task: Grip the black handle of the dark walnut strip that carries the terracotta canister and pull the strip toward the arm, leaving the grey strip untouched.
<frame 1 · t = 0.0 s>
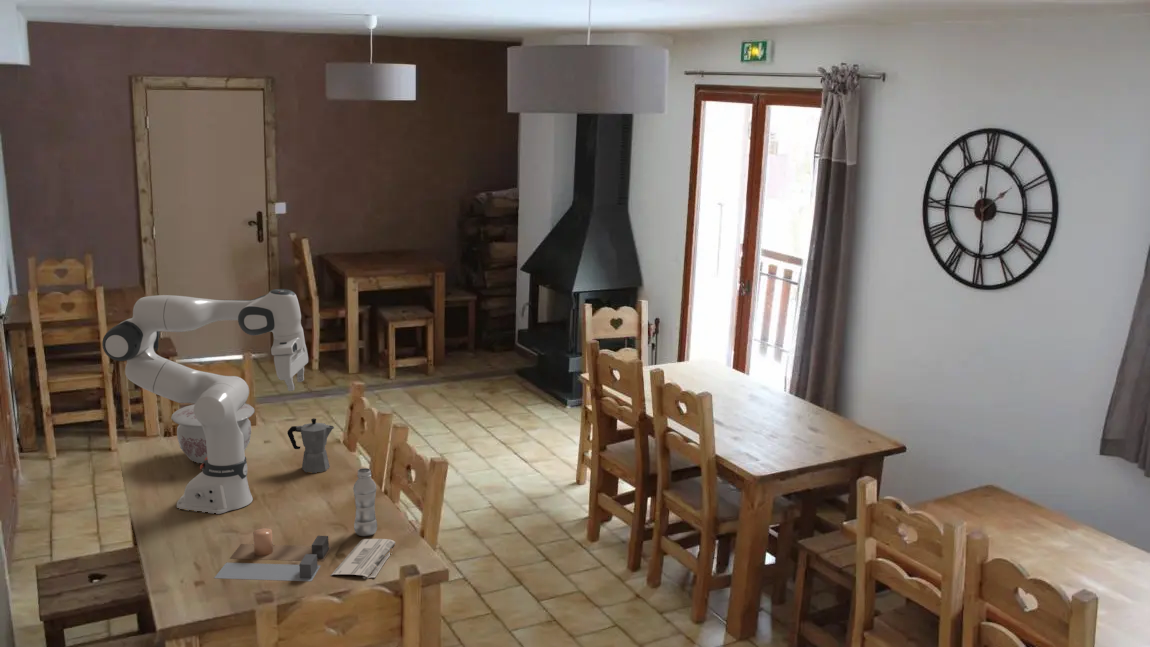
hand: (296, 385, 312), 39 cm above the table, tool pointing down, fingers open, 8 cm apart
walnut strip: (281, 547, 285), point 3 cm above the table, slide at 0.0 cm, touching canister
coffeepot: (312, 469, 350), on the table
chamber pot: (216, 458, 358), on the table
grey strip: (267, 566, 274), point 3 cm above the table, slide at 0.0 cm
canister: (263, 551, 285), point 1 cm above the table, touching walnut strip
plastic bottle: (366, 534, 300), on the table
newspaper: (367, 562, 285), on the table
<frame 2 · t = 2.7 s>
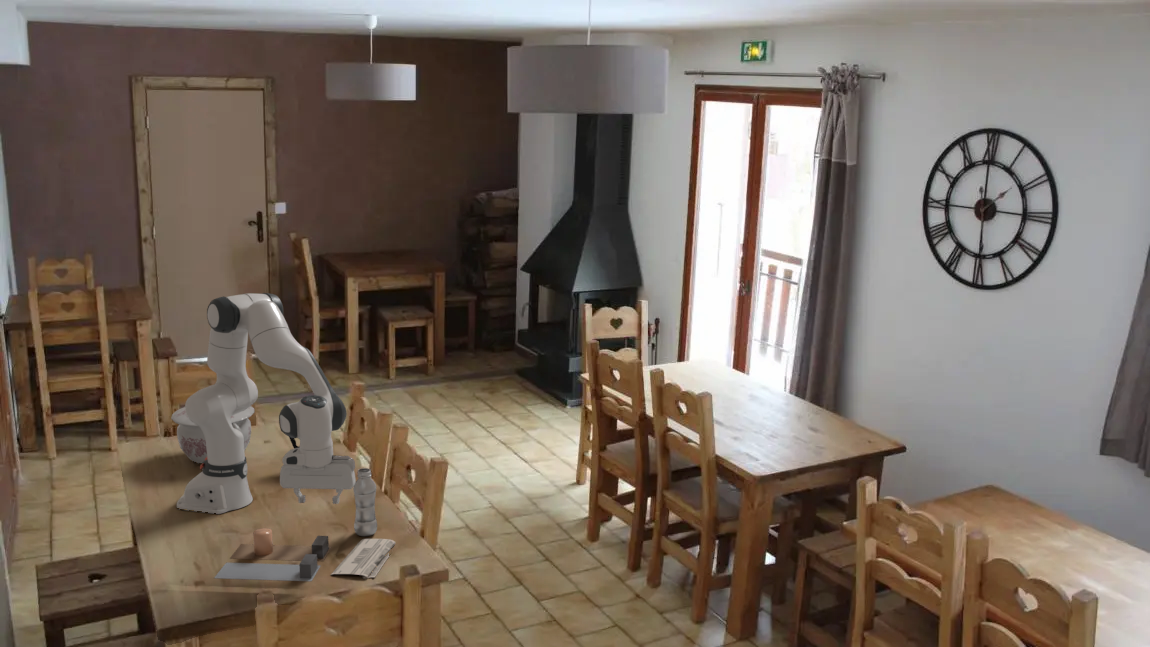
hand: (319, 502, 281), 17 cm above the table, tool pointing down, fingers open, 8 cm apart
nothing on the table moved.
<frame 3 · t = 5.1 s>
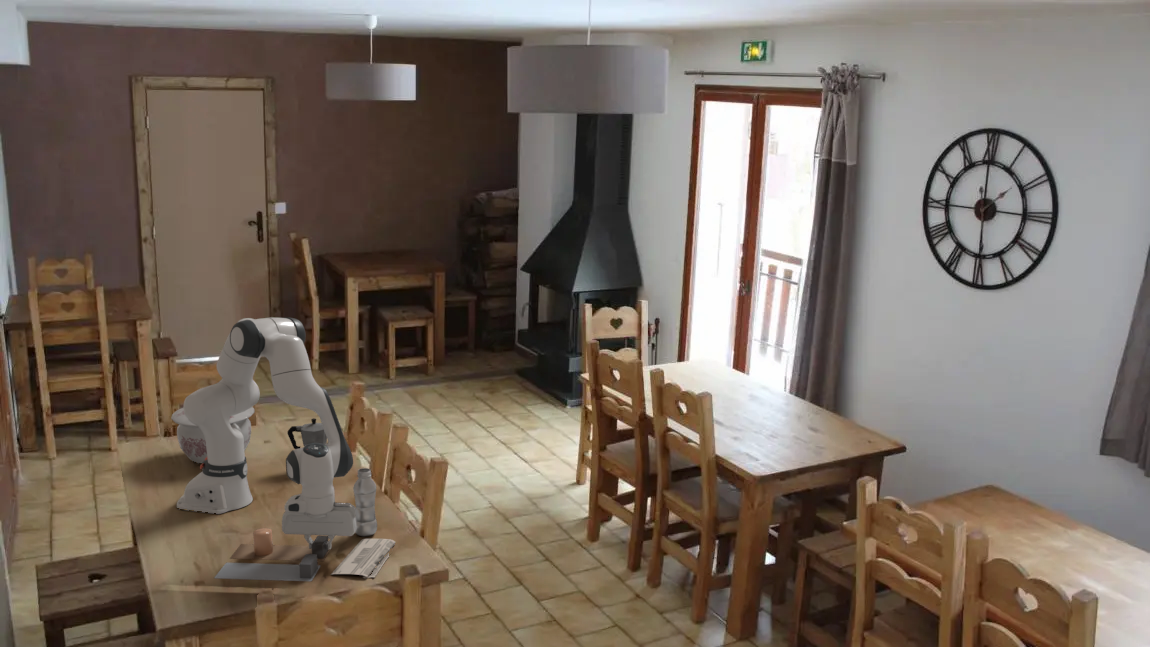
hand: (320, 548, 284), 3 cm above the table, tool pointing down, fingers closed on walnut strip, 3 cm apart
walnut strip: (281, 547, 285), point 3 cm above the table, slide at 0.0 cm, touching canister, gripper
everything else where it was.
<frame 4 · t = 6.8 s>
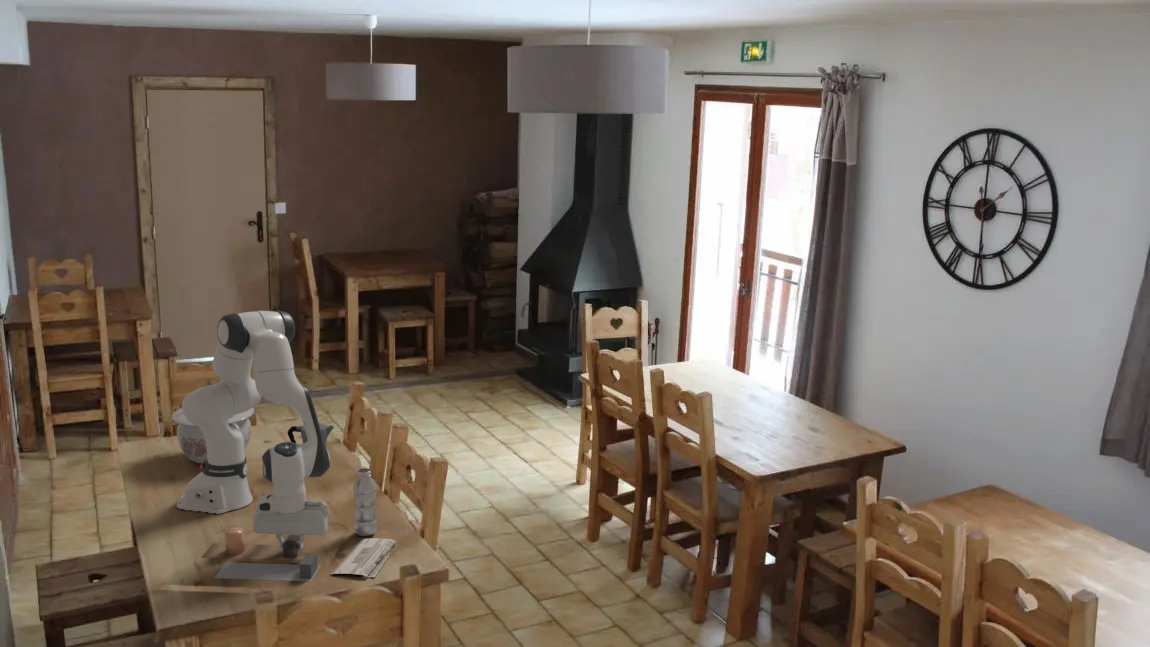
hand: (291, 547, 285), 3 cm above the table, tool pointing down, fingers closed on walnut strip, 3 cm apart
walnut strip: (252, 546, 285), point 3 cm above the table, slide at 8.0 cm, touching canister, gripper
canister: (235, 551, 285), point 1 cm above the table, touching walnut strip
everything else where it was.
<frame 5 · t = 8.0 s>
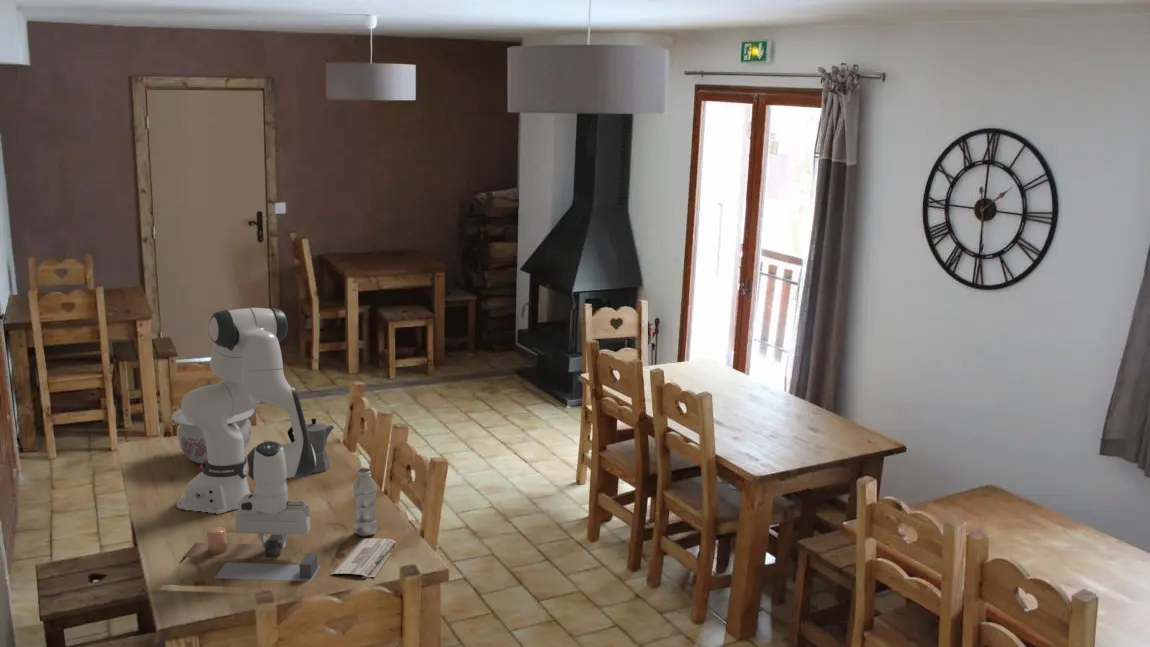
hand: (274, 547, 285), 3 cm above the table, tool pointing down, fingers closed on walnut strip, 3 cm apart
walnut strip: (235, 546, 285), point 3 cm above the table, slide at 13.0 cm, touching canister, gripper
canister: (217, 550, 286), point 1 cm above the table, touching walnut strip
everything else where it was.
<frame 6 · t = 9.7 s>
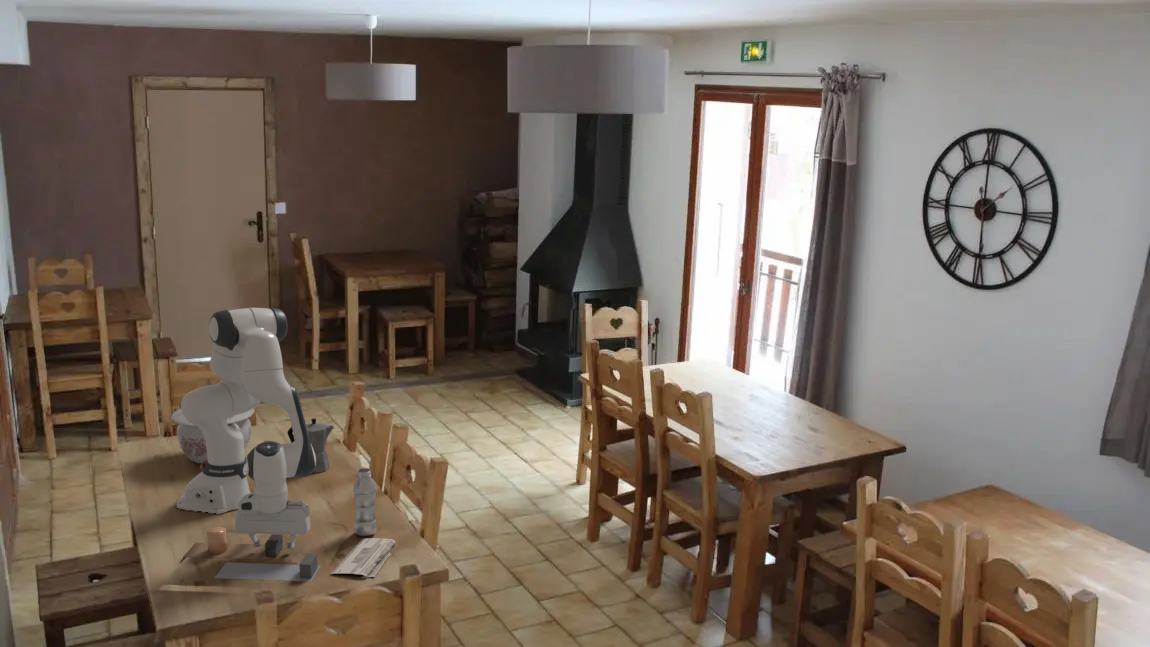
hand: (274, 546, 285), 3 cm above the table, tool pointing down, fingers open, 8 cm apart
walnut strip: (235, 546, 285), point 3 cm above the table, slide at 13.0 cm, touching canister
everything else where it was.
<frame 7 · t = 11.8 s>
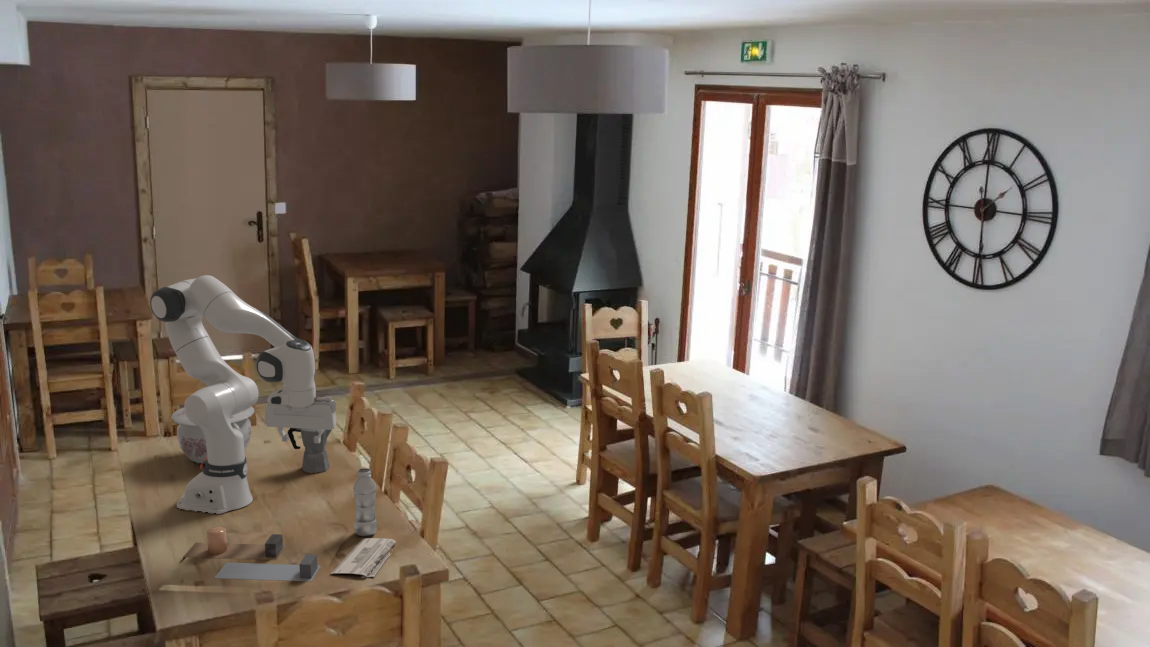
hand: (301, 441, 297), 27 cm above the table, tool pointing down, fingers open, 8 cm apart
nothing on the table moved.
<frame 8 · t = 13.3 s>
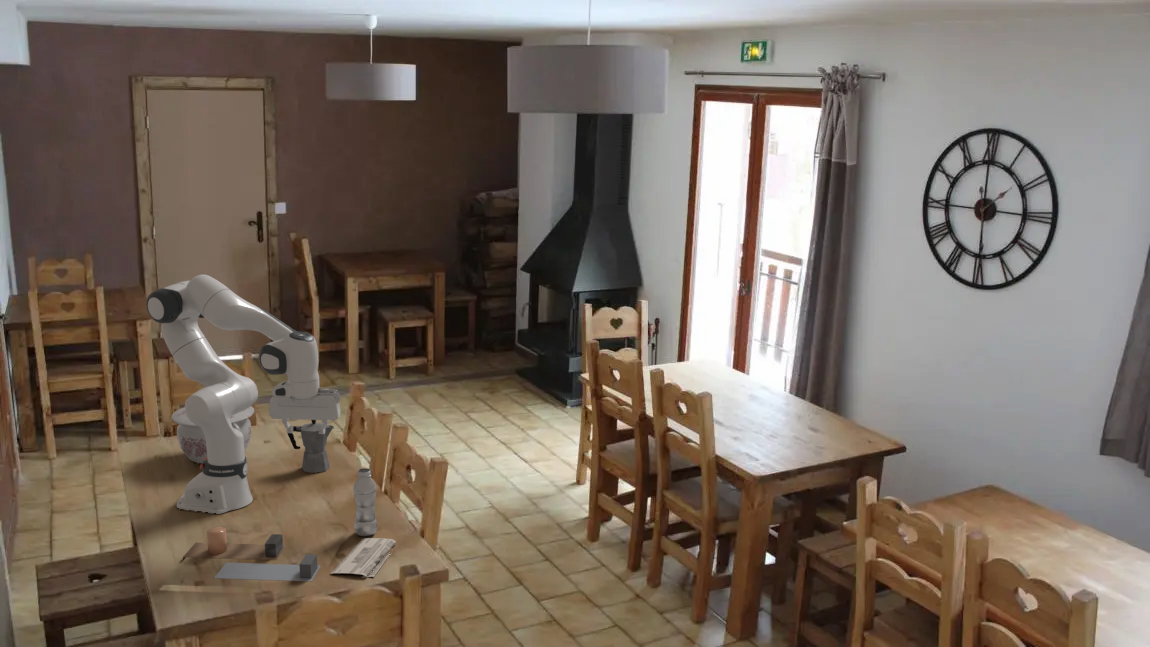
hand: (306, 433, 299), 29 cm above the table, tool pointing down, fingers open, 8 cm apart
nothing on the table moved.
at the end: walnut strip slide at 13.0 cm; canister inside the target area (0.0 cm from its centre), point 1.3 cm above the table; grey strip slide at 0.0 cm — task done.
